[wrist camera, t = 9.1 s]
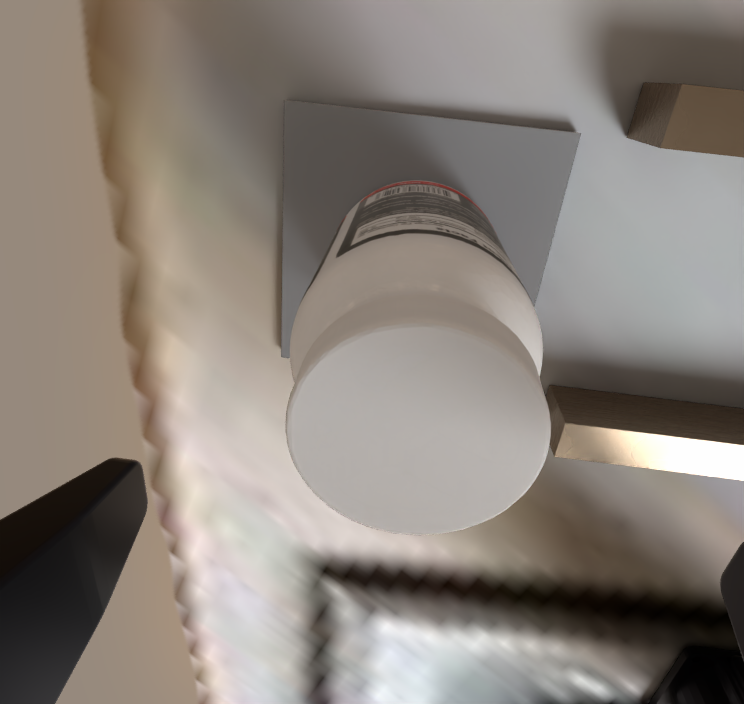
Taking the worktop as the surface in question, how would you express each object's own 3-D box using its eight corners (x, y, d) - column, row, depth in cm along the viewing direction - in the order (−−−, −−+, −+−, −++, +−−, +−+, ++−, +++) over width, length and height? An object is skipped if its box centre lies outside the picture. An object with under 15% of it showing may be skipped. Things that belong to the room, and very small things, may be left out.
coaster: (511, 380, 20) (512, 385, 20) (283, 352, 20) (281, 357, 20) (577, 132, 16) (580, 133, 15) (287, 99, 16) (284, 100, 16)
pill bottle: (417, 364, 20) (416, 596, 11) (300, 267, 18) (190, 447, 9) (534, 256, 17) (653, 443, 9) (411, 136, 16) (403, 212, 7)
